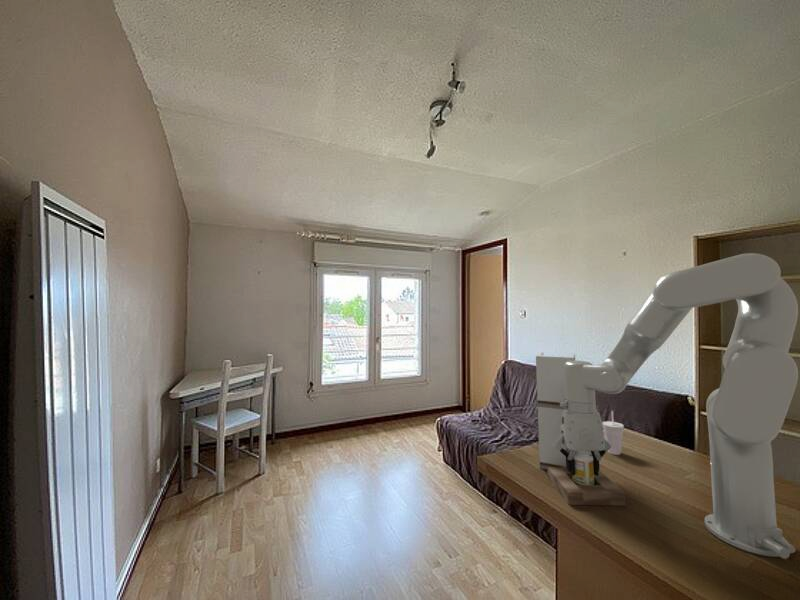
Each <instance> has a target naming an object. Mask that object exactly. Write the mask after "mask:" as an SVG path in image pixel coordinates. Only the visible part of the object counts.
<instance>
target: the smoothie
mask: <svg viewBox="0 0 800 600" xmlns="http://www.w3.org/2000/svg"><path fill="white" fill-rule="evenodd" d="M610 411H611V421H610V420H609V421H607V420H606V421H602V425H603V431H604V439H605V440H606V441H607V442H608V443H609V444H610V445H611V448H610V449H609V450H608V451H607V452H608V453H609V454H611V455H615V456H620V455H621V454H622V444H623V442H622V441H623V435H624V434H623V433H624V430H625V426H624V424H622V423H621V422H620V423H619V422H616V421H615V419H614V411H613V410H610Z"/></svg>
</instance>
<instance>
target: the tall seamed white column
mask: <svg viewBox="0 0 800 600" xmlns="http://www.w3.org/2000/svg"><path fill="white" fill-rule="evenodd" d="M568 361H576V353H574V352H573V353H571V354H570V355H569V356H553V355H552V356H551V355H550V356H549V355H544V352H541V351H540V352H538V354H537V355H535V367H536V368H535V369H536V370H535V371H536V373H535V374H536V395H537V401H536V402H537V421H538V422H537V423H538V428H537V429H538V450H539V451H538V453H539V469H541V470H544V471H545V470H546V471H547V467H566V457H565V456H564V455H563V454H562V453H561V452H560V451H559V450H558V449H557V448H555V447H554V446H553V443H554V442H555V441H556V440H557V438H558V437H559V436H560V431H561V418H562V413H563V410H564V409H565V408H564V407H561V406H560V402H564V399H565V389H564V364H565V363H566V362H568ZM561 447H562V448H563V449H564V450H565V448H566V446H565V445H564V444H561Z"/></svg>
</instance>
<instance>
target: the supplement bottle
mask: <svg viewBox="0 0 800 600" xmlns="http://www.w3.org/2000/svg"><path fill="white" fill-rule="evenodd" d="M573 460H574V461H575V475H572V480H573V481H574V482H575V483H577V484H576V485H593V484H594V465H593V456H592V454H591V452H590V451H575V452H574V455H573Z"/></svg>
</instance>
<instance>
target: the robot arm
mask: <svg viewBox="0 0 800 600" xmlns="http://www.w3.org/2000/svg"><path fill="white" fill-rule="evenodd" d="M781 272H782V271H781V268H780V265H779V264H778V262H777V261H776V260H774V259H773V258H772V257H770V256H767V255H765V254H762V253H761V254H760V253H756V252H755V253H753V252H751V253H741V254H737V255H734V256H729V257H726V258H722V259H719V260H715V261H714V260H713V261H711V262H708V263H704V264H701V265H695V266H692V267H690V268H684V269H681V270H677V271H673V272H669V273H667V274H665V275H663V276H661V277H660V278H659V279H658V280H657V281H656V283H655V284H654V286H653V287H654V288H653V289H652V291H651V293H649V295H648V296H647V298H646V299H645V300H644V302H643V303H642V304H641V306H640V307H639V308H638V310H637V311H636V312H635V314H634V315H633V316H632V317H631V318H630V320H629V321H628V323H627V324H626V326H625V327H624V331H623V334H622V336H621V338H620V340H619V341H618V342H617V344H616V346H615V347H614V349H612V351H611V352H610V353H609V354H608V356H607V357H606V358H605V360H604V361H603V362H602V363H601V364H593V363H591V362H590V361H584V360H575V361H568V362H566V363H565V364H564V389H565V399H564V402H560V406H561V407H564V408H565V409H564V410H563V413H562V418H561V431H560V436H559V437H558V438H557V440H556V441H555V442H554V443H553V446H554V447H555V448H557V449H558V450H559V451H560V452H561V453H562V454H563V455H564V456H565V457H566V469H567V470H568V471H569V472H570V473H571V474H572V475H575V461H574V460H573V455H574V452H575V451H590V454H591V455H592V456H593V465H594V474H595V475H596V476H598V475H599V473H598V471H599V470H600V461H602V457H603V456H604V455H606V452H608V450H609V449H610V448H611V445H610V444H609V443H608V442H607V441H606V438H605V433H604V427H603V425H602V423H603V421H602V416H601V414H600V412H598V411H597V404H596V403H597V401H596V392H600V393H603V394H608V395H617V394H619V393H623V391H624V390H625V389H626V388H627V386H628V384H629V382H630V381H631V380H632V378H633V377H634V375H636V373H637V372H638V371H639V370H640V368H641V367H642V366H643V365H644V363H645V362H646V361H647V360H648V359H649V358H650V357H651V355H652V354H653V353H655V352H656V351H657V350H659V349H660V348H661V347H662V346H663V345H664V343H665V342H666V341H667V340H668V339H669V338H670V336H671V335H672V334H673V333H674V332H675V330H676V329H677V328H678V327H679V325H680V323H682V321H683V320H684V319H685V317H686V316H687V315H688V314H689V313H690V312H691V311H692V309H693V308H700V307H704V306H710V305H715V304H719V303H723V302H724V303H725V302H728V301H734V300H735V301H736V303H737V309H738V310H737V316H736V319H735V323H734V328H733V329H732V330H733V331H732V333H731V337H730V339H729V342H728V345H727V347H726V350H725V351H724V354H723V357H722V365H723V367H724V370H723V371H724V372H723V376H722V378H721V381H720V384H719V387H718V388H717V389H714V390H713V391H712V392H711V393H710V394H709V395H708V397H707V398H706V404H705V408H706V409H705V411H706V417H707V418H706V419H707V427H708V429H707V430H708V440H709V442H708V443H709V459H710V460H709V461H710V462H709V463H710V477H711V478H710V479H711V494H712V496H711V497H712V509H713V510H712V511H713V513H710V514H707V515H706V516H705V517H704V526H705V527H706V529H707V530H708V531H709V532H710V533H711V534H712V535H713V536H715V537H717V538H718V539H720V540H721V541H723V542H724V543H727V544H728V545H731V546H732V547H735V548H738V549H740V550H743V551H746V552H749V553H752V554H756V555H760V556H766V557H776V558H777V557H780V558H782V559H783V560H784V559H785V560H786V559H788V558H789V557H790V555H791V554H793V553H795V552H796V547H795V546H794V545H792V544H790V543H789V542H788V540H787V539H786V538H785V537H784V536H783V529H781V528H780V527H778V526H777V512H776V511H777V509H776V495H775V483H774V482H775V480H774V460H773V449H772V444H771V442H772V441H773V440H774V439H775V438H777V436H778V435H779V433H780V431H781V429H782V427H783V425H784V422H785V419H786V417H787V413H788V411H789V408H790V406H791V403H792V399H793V396H794V393H795V390H796V387H797V385H798V379H799V370H798V369H799V368H798V365H797V363H796V361H795V360H794V358H793V357H792V356H791V355H790V354H789V351H790V348H791V344H792V341H793V339H794V338H793V337H794V332H795V329H796V327H797V321H798V318H799V304H798V299H797V297H796V295H795V293H794V291H793V289H792V288H791V287H790V285H789V284H788V283H787V282H786V280H784V279H783V278H782V277H781V276H782V274H781ZM561 444H564V445H565V446H566V448H565V450H564V449H563V448H562V447H561ZM600 471H601V470H600Z"/></svg>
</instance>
